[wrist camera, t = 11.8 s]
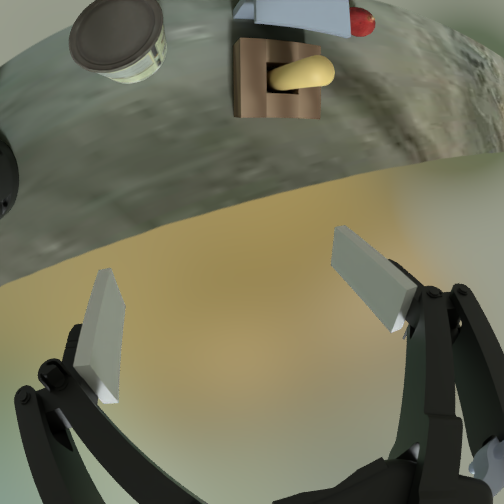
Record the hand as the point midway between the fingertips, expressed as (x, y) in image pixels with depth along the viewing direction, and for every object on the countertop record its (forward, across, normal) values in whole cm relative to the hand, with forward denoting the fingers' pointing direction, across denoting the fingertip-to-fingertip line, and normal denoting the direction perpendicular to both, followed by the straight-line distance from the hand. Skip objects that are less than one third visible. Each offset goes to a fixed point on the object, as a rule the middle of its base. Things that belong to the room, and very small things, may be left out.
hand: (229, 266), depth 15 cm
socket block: (+30, +14, +12) cm, 35 cm away
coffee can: (+31, -7, +19) cm, 37 cm away
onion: (+30, +28, +25) cm, 48 cm away
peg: (+30, +14, +12) cm, 35 cm away
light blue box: (+30, +14, +21) cm, 39 cm away
